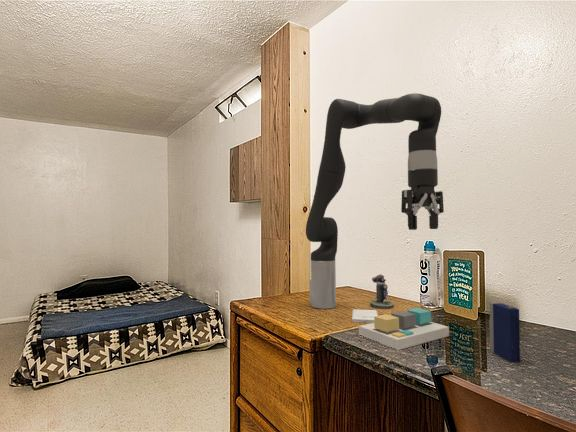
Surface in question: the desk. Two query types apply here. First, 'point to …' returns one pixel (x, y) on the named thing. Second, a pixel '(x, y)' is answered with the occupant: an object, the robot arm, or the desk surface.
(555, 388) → the desk surface
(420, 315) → the key teal
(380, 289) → the figurine
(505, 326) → the navy blue upright slab
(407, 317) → the key charcoal
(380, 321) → the key ochre
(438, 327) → the keypad frame
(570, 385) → the desk surface
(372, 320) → the external hard drive
